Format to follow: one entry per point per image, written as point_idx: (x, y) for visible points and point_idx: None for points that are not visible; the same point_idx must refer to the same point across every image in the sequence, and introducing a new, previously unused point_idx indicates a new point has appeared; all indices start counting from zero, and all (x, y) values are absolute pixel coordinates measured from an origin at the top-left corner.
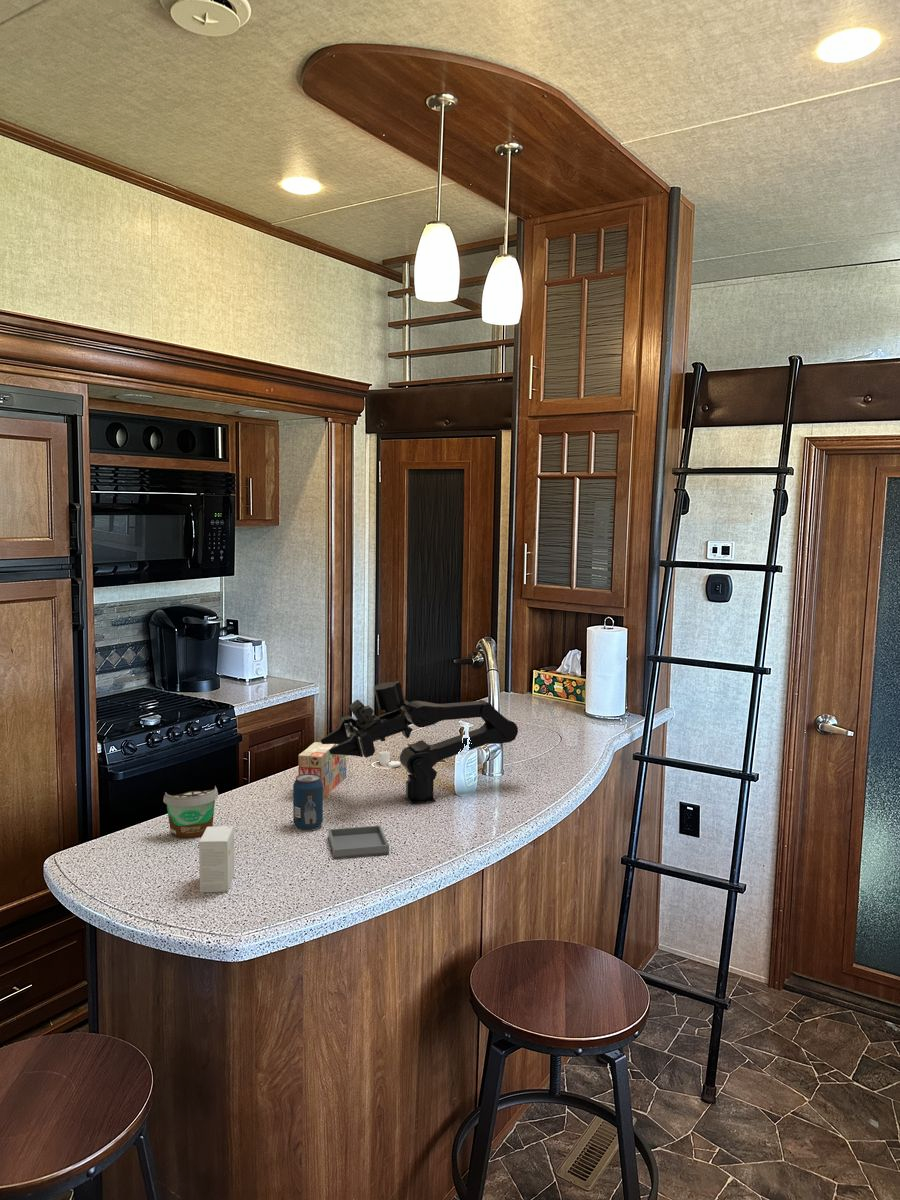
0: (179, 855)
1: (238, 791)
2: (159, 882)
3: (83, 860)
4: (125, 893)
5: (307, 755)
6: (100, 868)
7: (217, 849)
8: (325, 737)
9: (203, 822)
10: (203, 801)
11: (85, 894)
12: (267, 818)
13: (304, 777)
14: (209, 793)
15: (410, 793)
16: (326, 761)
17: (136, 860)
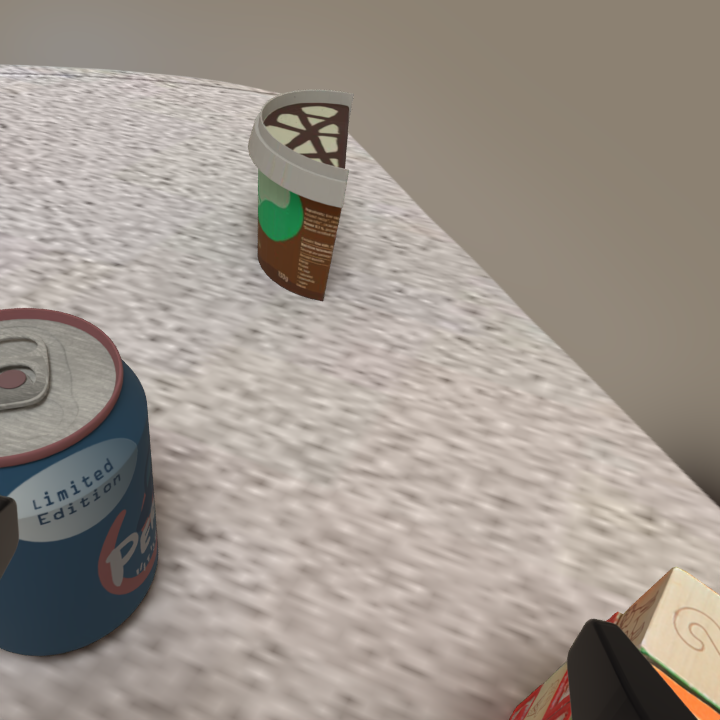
0: (156, 194)
1: (694, 487)
2: (26, 132)
3: None
4: (31, 95)
5: (652, 633)
6: (203, 112)
7: None
8: (638, 688)
9: (260, 223)
10: (252, 144)
11: (92, 75)
12: (306, 461)
13: (70, 380)
14: (273, 140)
15: None
16: None
17: (197, 148)
